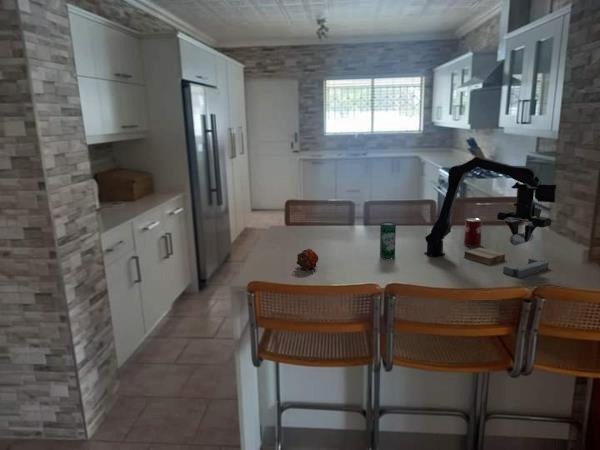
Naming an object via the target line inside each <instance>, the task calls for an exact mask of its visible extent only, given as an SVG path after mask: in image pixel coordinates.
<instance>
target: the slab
mask: <svg viewBox="0 0 600 450" xmlns="http://www.w3.org/2000/svg"><path fill="white" fill-rule="evenodd" d="M463 255H464V256H463V257H464V258H466V259H469V260H473V261H476V262H479V263H482V264H486V265H492V264H495V263H499V262H502V261H505V258H506V254H505V253H503V252H499V251H495V250H492V249H488V248H483V247H476V248H472V249H469V250H465V251H464V254H463Z"/></svg>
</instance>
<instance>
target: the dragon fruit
mask: <svg viewBox="0 0 600 450" xmlns="http://www.w3.org/2000/svg"><path fill="white" fill-rule="evenodd" d="M296 256H297V261H296V265H299V267H301V268H303V269H304V270H306V269H308V270H310V269H311V268H312V269H315V268H316V267H317V263H318V261H319V255H317V253H316V252H315V251H314V250H313V249H310V248H307V249H304V250H302V251H301V252H300V253H299V252H298V253H297V255H296Z"/></svg>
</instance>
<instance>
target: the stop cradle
mask: <svg viewBox="0 0 600 450" xmlns="http://www.w3.org/2000/svg"><path fill="white" fill-rule="evenodd" d="M527 260H528V263H527V264H525V265H521V266H519V267H514V266H510V265H504V266H503V267H502V268H503V269H502V272H503V273H504V274H507V275H510V276H513V277H516V278H521V279H522V278H524V277H526V275H527V276H529V274H530V275H532V274H531V273H533V274H535V273H534V272H536V273H538V272H537V271H539V272H541V271H544V270H547V269H549V264H550V262H549V261H547V260H543V259H539V258H536V257H535V258H534V257H529V258H528V259H527ZM546 268H547V269H546ZM543 269H544V270H543ZM540 270H541V271H540Z"/></svg>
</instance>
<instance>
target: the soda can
mask: <svg viewBox="0 0 600 450" xmlns="http://www.w3.org/2000/svg"><path fill="white" fill-rule="evenodd" d="M464 221H465V222H464V234H463V235H464V240H463V244H464V245H465V246H467V247H473V248H475V247H476V248H478V247H480V246H481V244H482V231H483V230H482V229H483V220H482V219H481V218H478V217H469V218H466V219H465V220H464Z"/></svg>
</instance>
